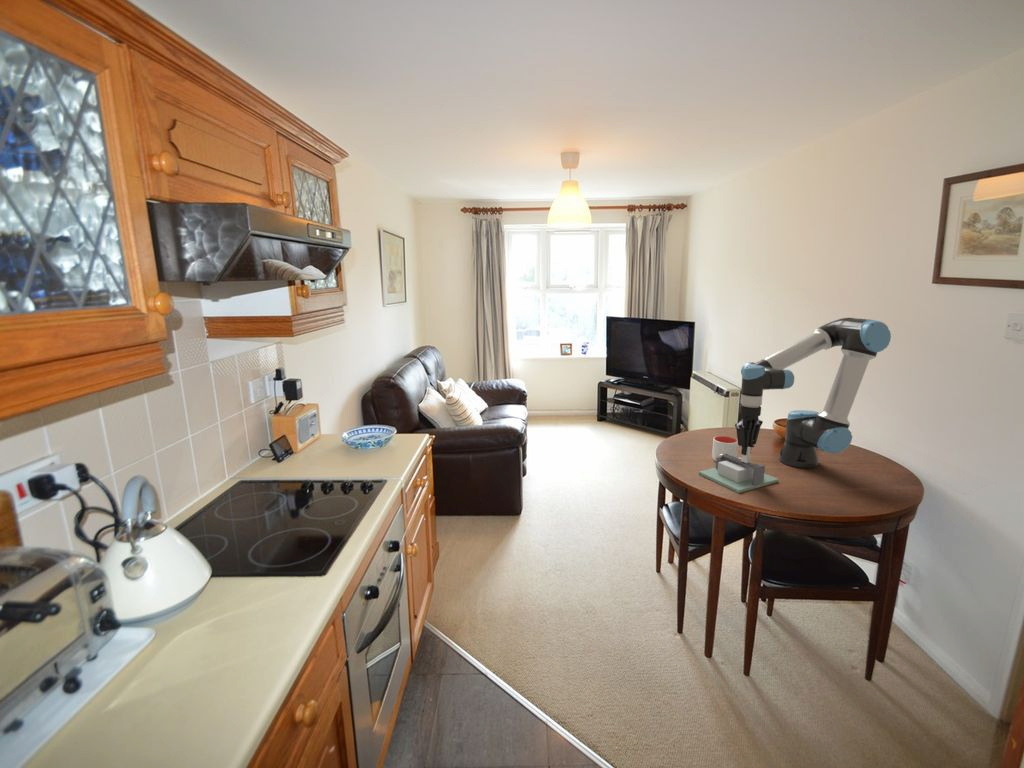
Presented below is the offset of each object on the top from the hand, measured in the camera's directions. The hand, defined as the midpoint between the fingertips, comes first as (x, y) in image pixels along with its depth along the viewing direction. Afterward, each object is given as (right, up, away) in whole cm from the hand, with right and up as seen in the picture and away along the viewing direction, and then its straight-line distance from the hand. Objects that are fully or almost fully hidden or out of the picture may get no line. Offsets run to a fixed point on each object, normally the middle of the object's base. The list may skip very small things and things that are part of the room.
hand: (745, 461), depth 193 cm
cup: (+2, -3, +23) cm, 23 cm away
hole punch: (-1, -7, +5) cm, 9 cm away
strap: (-1, -1, +4) cm, 4 cm away
